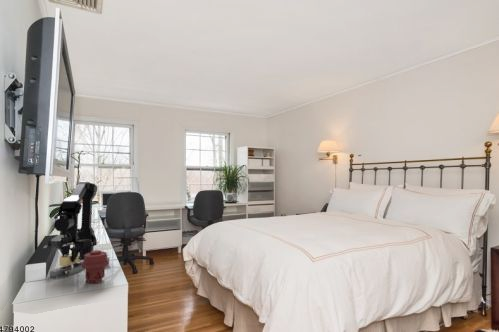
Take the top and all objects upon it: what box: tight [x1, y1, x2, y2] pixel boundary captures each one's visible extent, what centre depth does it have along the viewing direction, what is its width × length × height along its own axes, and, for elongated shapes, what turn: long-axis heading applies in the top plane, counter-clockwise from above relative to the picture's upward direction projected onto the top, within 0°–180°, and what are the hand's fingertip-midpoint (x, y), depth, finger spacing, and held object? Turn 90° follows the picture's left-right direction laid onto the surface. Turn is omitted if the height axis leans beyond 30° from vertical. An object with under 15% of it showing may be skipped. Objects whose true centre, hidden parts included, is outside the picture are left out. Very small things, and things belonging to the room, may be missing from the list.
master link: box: [59, 252, 80, 267], centre depth 131 cm, size 7×4×5 cm, turn 170°
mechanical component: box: [81, 249, 110, 284], centre depth 119 cm, size 12×10×10 cm
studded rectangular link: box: [49, 259, 85, 279], centre depth 130 cm, size 16×9×3 cm, turn 168°
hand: (69, 261), depth 131 cm, fingers closed on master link, 3 cm apart
